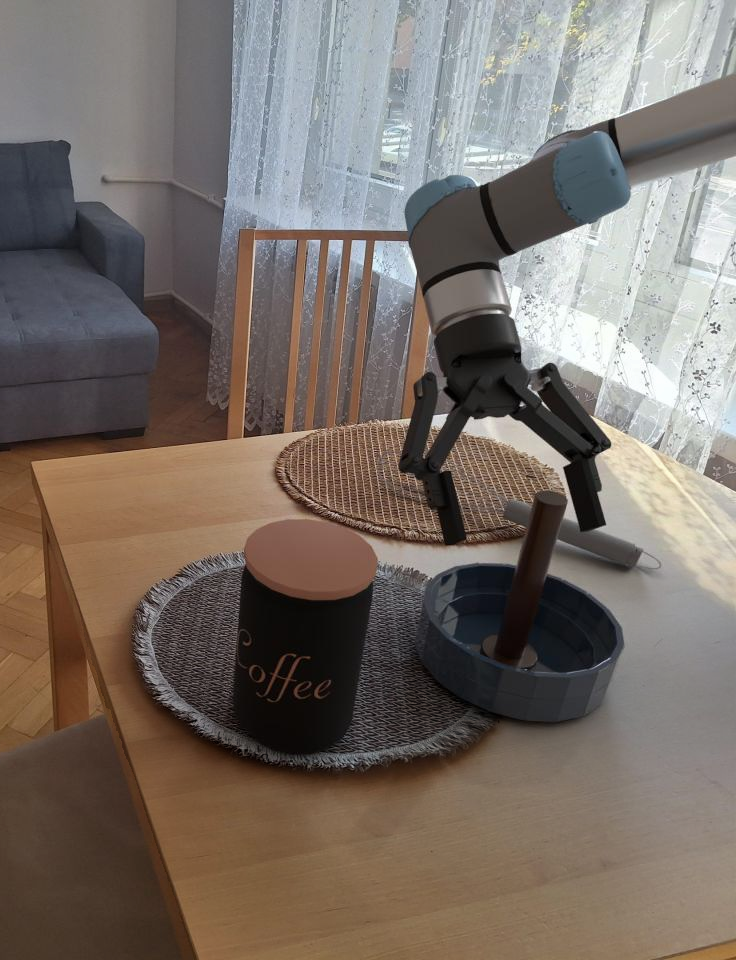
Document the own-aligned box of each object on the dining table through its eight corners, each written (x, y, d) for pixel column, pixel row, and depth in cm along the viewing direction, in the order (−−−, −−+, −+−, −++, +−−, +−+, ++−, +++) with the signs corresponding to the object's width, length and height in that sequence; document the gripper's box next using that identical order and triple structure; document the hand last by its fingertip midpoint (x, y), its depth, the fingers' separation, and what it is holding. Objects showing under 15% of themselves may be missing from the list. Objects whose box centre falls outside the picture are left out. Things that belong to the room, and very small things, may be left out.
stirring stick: (535, 647, 85) (581, 489, 76) (536, 679, 81) (585, 517, 72) (481, 635, 87) (520, 479, 78) (479, 666, 83) (520, 506, 74)
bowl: (599, 631, 88) (615, 584, 85) (613, 750, 74) (633, 698, 71) (422, 594, 94) (431, 548, 91) (405, 697, 80) (415, 647, 77)
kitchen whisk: (651, 587, 94) (668, 539, 91) (364, 491, 114) (370, 449, 111) (664, 563, 98) (681, 515, 95) (384, 474, 118) (391, 433, 115)
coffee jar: (208, 717, 79) (217, 553, 70) (276, 660, 85) (292, 505, 76) (307, 781, 72) (331, 609, 63) (373, 715, 78) (403, 551, 70)
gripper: (566, 335, 90) (622, 531, 84) (338, 352, 87) (380, 556, 82) (613, 301, 83) (678, 513, 77) (366, 318, 80) (415, 539, 74)
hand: (525, 536), depth 79 cm, fingers open, 13 cm apart
